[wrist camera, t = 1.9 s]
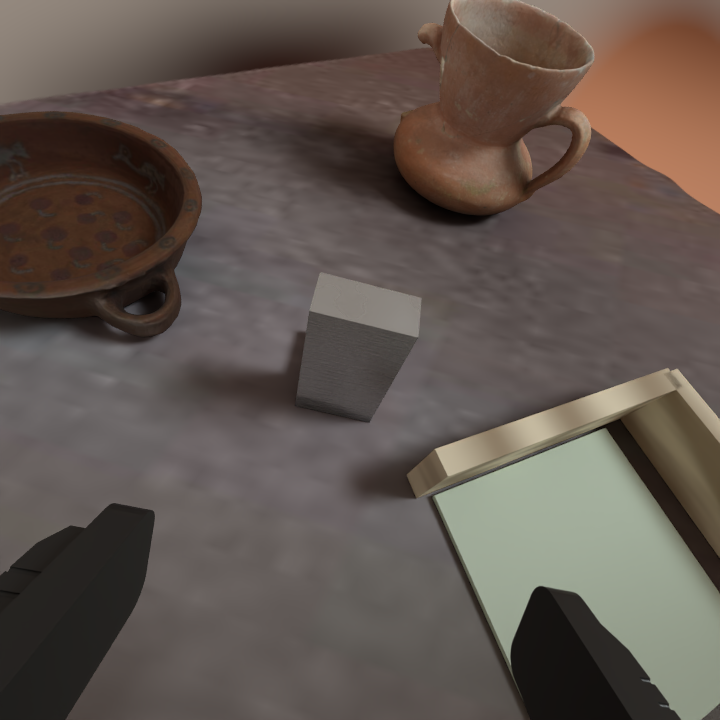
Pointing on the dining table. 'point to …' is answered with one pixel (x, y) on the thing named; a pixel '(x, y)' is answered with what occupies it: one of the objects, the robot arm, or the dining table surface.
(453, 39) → the ceramic jug
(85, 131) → the dish
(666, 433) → the corner
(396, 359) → the rectangular block
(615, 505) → the mat
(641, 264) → the dining table surface
